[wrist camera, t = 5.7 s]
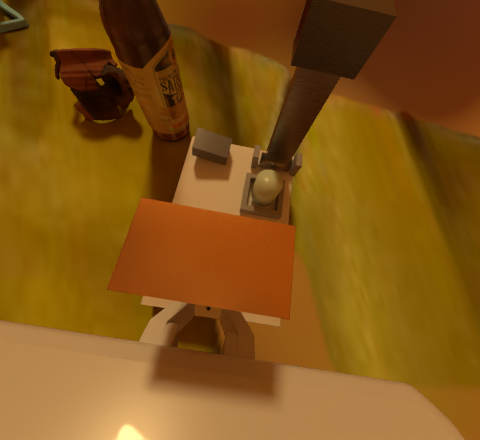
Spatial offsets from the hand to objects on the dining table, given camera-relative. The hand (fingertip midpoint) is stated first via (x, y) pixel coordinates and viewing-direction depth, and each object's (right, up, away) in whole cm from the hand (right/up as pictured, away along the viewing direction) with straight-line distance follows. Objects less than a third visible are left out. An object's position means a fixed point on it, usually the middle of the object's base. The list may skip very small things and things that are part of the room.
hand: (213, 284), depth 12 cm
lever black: (+6, +12, +11) cm, 18 cm away
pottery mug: (-20, +25, +18) cm, 36 cm away
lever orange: (0, -1, +6) cm, 6 cm away
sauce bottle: (-10, +20, +17) cm, 28 cm away
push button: (+5, +7, +10) cm, 14 cm away
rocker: (-2, +14, +10) cm, 17 cm away
